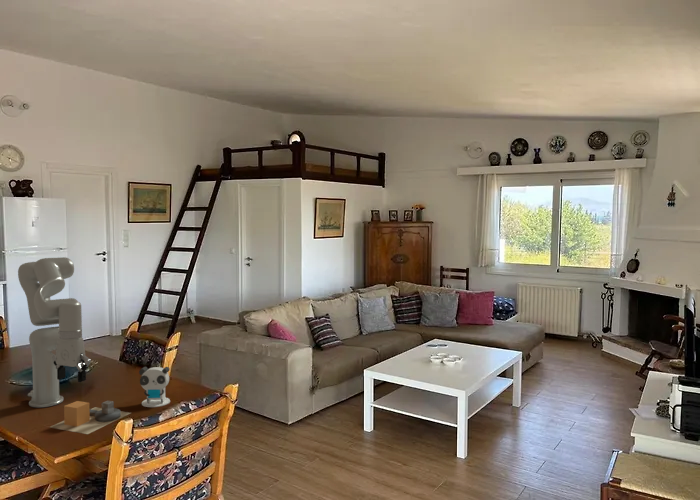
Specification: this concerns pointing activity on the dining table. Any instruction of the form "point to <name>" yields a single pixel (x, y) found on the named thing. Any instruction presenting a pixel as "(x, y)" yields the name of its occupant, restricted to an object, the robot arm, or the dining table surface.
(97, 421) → the board
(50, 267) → the robot arm
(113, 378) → the dining table surface
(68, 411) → the tan wooden cube
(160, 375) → the panda figurine
